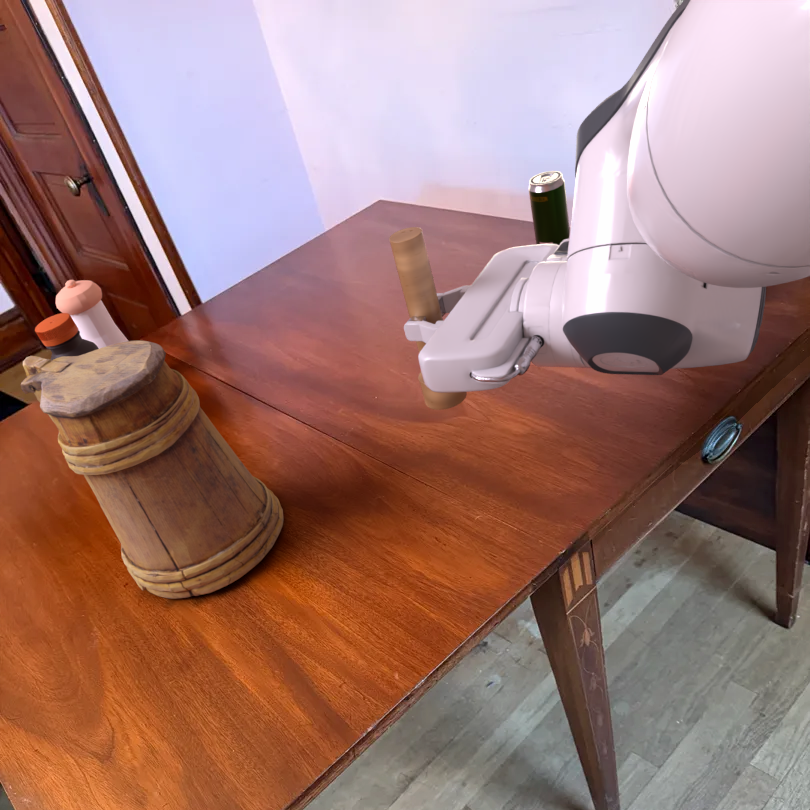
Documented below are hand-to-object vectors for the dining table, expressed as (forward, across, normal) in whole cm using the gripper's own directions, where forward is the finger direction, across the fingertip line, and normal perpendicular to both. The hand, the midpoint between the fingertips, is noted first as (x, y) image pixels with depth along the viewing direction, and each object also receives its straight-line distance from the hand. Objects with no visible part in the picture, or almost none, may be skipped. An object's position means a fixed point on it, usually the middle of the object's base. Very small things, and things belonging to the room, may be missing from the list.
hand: (417, 316), depth 71 cm
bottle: (+55, +2, -21) cm, 59 cm away
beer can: (+6, +55, -20) cm, 59 cm away
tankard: (+29, -15, -21) cm, 39 cm away
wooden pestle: (-1, 0, -9) cm, 9 cm away
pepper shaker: (+66, +15, -21) cm, 71 cm away
